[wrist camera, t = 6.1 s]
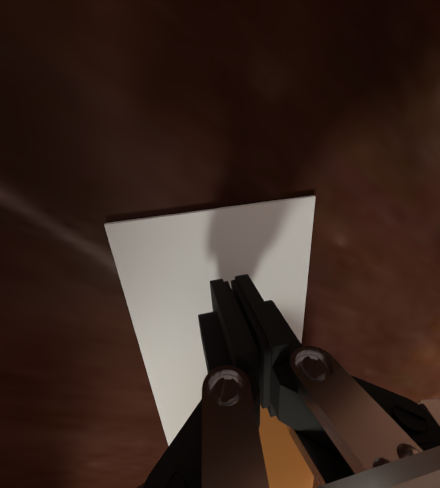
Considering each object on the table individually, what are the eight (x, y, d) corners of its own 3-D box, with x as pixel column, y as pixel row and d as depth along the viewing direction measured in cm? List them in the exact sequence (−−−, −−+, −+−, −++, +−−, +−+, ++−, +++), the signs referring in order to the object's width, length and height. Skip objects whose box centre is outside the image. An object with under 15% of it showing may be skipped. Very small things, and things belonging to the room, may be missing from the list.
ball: (357, 552, 10) (308, 384, 12) (209, 595, 9) (189, 409, 12) (307, 486, 15) (280, 377, 18) (211, 510, 15) (197, 394, 17)
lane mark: (291, 426, 19) (293, 429, 19) (173, 461, 18) (173, 464, 17) (312, 195, 11) (315, 196, 11) (105, 223, 10) (103, 224, 10)
